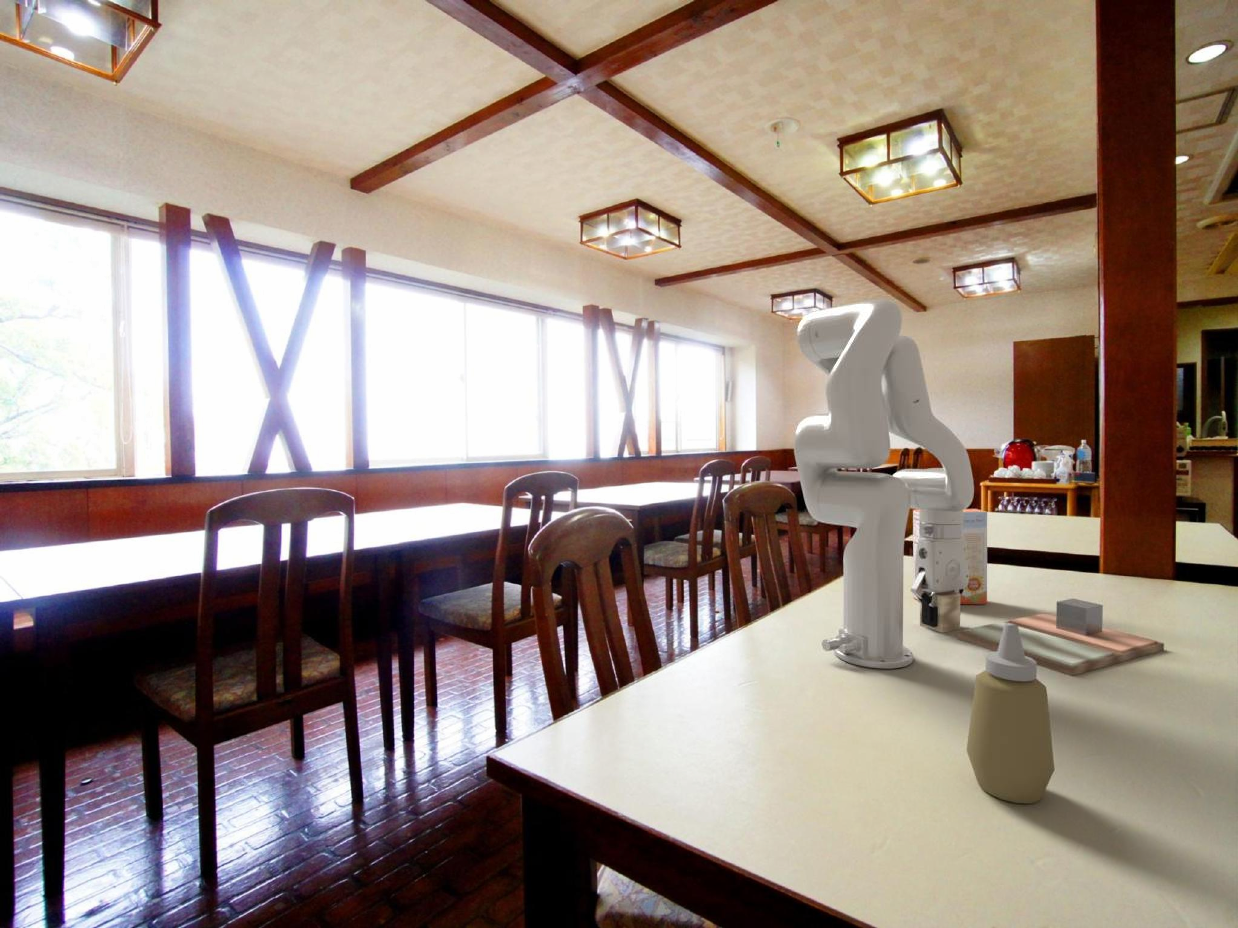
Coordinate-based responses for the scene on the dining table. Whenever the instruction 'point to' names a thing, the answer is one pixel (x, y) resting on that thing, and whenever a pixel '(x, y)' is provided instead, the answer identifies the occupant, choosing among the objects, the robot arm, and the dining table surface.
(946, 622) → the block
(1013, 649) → the squeeze bottle
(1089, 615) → the metal block
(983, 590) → the cracker box
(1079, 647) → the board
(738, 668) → the dining table surface
